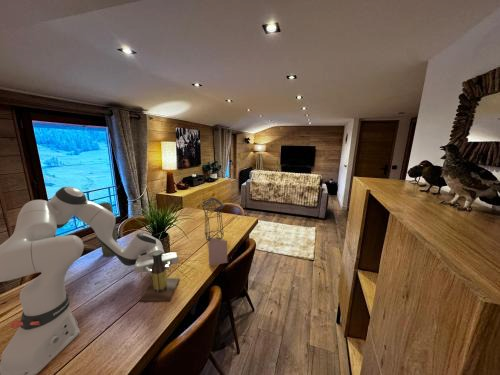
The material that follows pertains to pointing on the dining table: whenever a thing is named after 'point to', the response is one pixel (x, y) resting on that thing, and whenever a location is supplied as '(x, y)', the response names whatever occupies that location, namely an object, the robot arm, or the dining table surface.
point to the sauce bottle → (159, 273)
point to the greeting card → (217, 251)
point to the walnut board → (162, 296)
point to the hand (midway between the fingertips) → (158, 270)
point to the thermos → (105, 251)
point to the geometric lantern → (212, 217)
